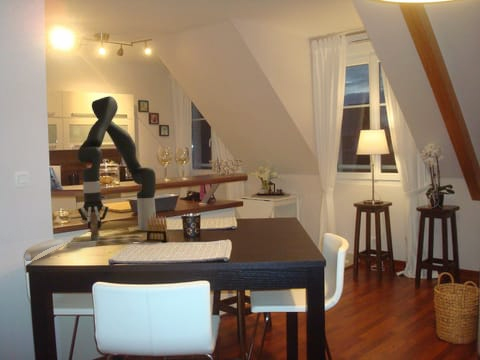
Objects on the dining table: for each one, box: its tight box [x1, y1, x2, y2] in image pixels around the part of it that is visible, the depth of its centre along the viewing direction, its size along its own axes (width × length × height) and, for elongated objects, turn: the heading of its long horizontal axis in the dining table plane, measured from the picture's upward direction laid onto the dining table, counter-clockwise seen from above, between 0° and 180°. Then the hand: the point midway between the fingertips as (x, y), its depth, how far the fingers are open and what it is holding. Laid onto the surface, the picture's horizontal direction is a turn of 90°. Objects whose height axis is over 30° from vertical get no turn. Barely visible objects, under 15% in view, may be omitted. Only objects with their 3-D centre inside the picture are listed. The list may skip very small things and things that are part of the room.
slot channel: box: [95, 234, 144, 247], centre depth 219 cm, size 20×12×3 cm, turn 99°
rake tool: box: [90, 212, 101, 241], centre depth 217 cm, size 3×5×14 cm, turn 9°
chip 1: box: [72, 236, 83, 242], centre depth 216 cm, size 4×4×4 cm
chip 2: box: [82, 235, 91, 242], centre depth 216 cm, size 4×4×4 cm
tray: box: [67, 238, 97, 249], centre depth 216 cm, size 12×10×3 cm
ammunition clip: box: [146, 215, 169, 243], centre depth 221 cm, size 11×2×12 cm, turn 68°
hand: (94, 229), depth 217 cm, fingers closed on rake tool, 3 cm apart
